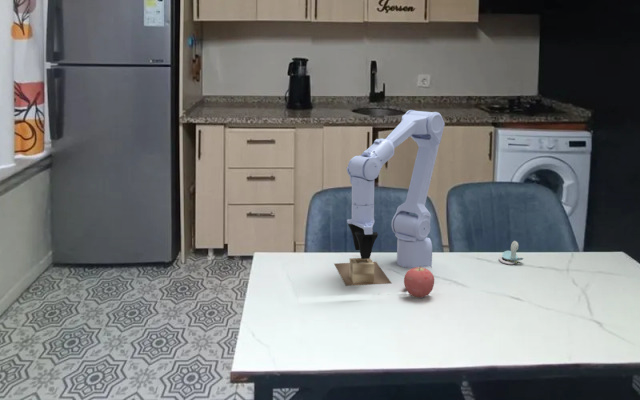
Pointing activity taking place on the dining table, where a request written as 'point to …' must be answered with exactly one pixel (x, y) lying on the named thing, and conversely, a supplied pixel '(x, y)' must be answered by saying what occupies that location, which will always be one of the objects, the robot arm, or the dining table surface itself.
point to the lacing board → (378, 279)
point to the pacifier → (511, 254)
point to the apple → (419, 282)
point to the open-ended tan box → (361, 270)
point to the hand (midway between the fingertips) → (362, 254)
